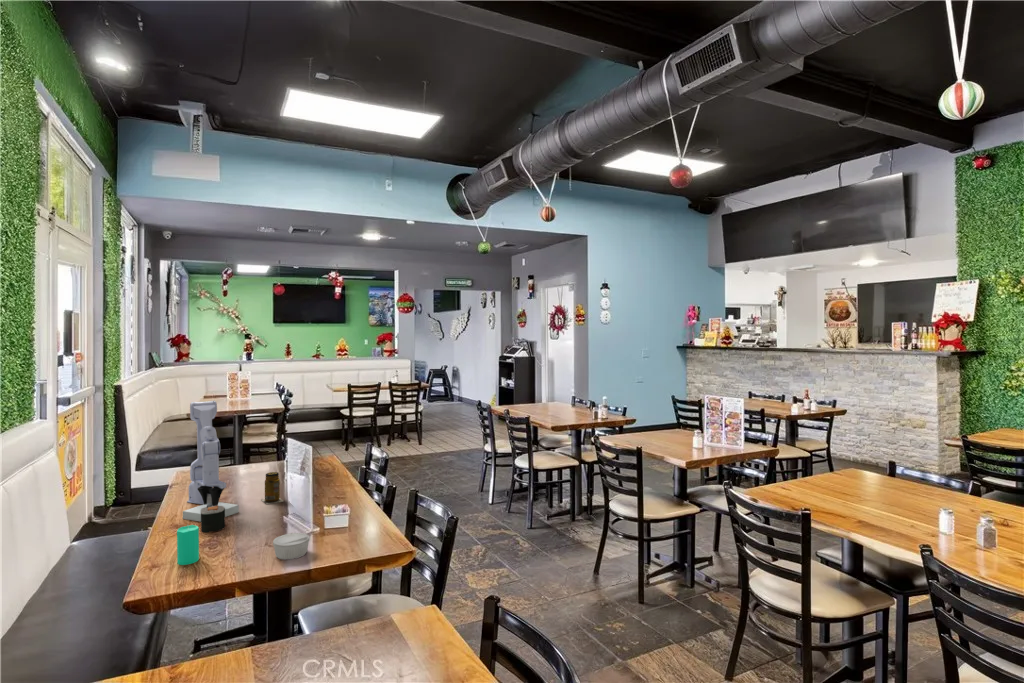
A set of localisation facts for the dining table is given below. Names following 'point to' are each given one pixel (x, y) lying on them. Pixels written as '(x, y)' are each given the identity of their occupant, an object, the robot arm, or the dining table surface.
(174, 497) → the dining table surface
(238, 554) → the dining table surface
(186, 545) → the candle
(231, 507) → the socket
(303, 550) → the ramekin
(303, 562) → the dining table surface
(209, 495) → the peg
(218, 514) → the sushi
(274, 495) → the condiment
